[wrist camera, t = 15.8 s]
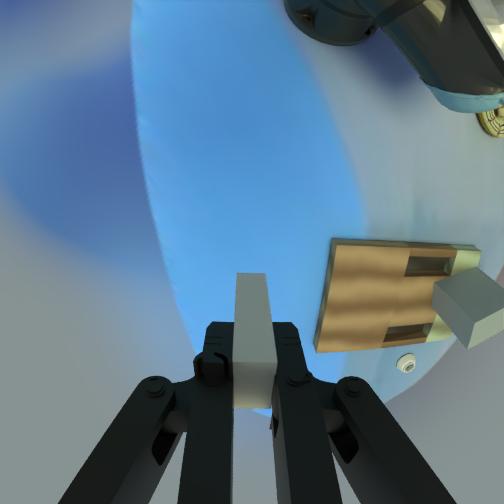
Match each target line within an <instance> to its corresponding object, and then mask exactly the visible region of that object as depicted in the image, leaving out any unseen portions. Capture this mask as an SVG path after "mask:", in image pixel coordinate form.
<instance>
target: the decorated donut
mask: <svg viewBox="0 0 504 504" xmlns="http://www.w3.org/2000/svg"><path fill="white" fill-rule="evenodd" d="M477 114H478V117H479V121H480V123H481V125H482V126H483V128H484V129H485V130H486V131H487V132H488V133H489V134H490V135H492V136H494V137H497V138H502V137H504V105H499V107H498V108H497V109H494V110H491V111H486V112H480V113H477Z"/></svg>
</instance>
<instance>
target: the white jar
mask: <svg viewBox="0 0 504 504" xmlns="http://www.w3.org/2000/svg"><path fill="white" fill-rule="evenodd" d="M414 367H415V356H414V355H413V354H407V355H405V356H403V357H402V358H400V359H399V361H398V362H397V368H398V369H399V370H401V371H403V372H405V373H408V372H410V371H412V370H413V369H414Z"/></svg>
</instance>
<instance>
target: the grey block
mask: <svg viewBox="0 0 504 504" xmlns="http://www.w3.org/2000/svg"><path fill="white" fill-rule="evenodd" d="M431 307H432V309H433V310H434V311H435V312H436V313H437V314H438V315H439V317H440V318H441V319H442V320H443V321H444V322H445V323H446V325H447V326H448V327H449V328H450V329H451V331H452V332H453V333H454V334H455V335H456V337H457V338H458V339H459V340H460V341H461V343H462V344H463V345H464V346H465V348H466V349H469V348H471V347H473V346H475V345H477V344H479V343H481V342H483V341H485V340H486V339H488V338H490V337H492V336H493V335H495V334H497V333H499V332H500V331H502V330H503V329H504V288H502V287H501V286H500V285H499V284H498V283H496V282H495V281H494V280H493V279H491V278H490V277H489V276H488V275H486V274H485V273H484V272H482V271H481V270H480V269H478V268H477V267H473V268H471V269H468V270H465V271H463V272H460V273H457V274H455V275H452V276H449V277H447V278H444V279H441V280H438V281H435V282H434V286H433V296H432V305H431Z"/></svg>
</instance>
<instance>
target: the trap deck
mask: <svg viewBox="0 0 504 504" xmlns="http://www.w3.org/2000/svg"><path fill="white" fill-rule="evenodd" d="M481 253H482V251H481V250H479V249H478V248H476V247H475V246H468V245H452V244H435V243H418V242H399V241H379V240H357V239H334V238H332V240H331V247H330V254H329V260H328V267H327V273H326V279H325V285H324V291H323V296H322V302H321V307H320V312H319V317H318V323H317V328H316V332H315V337H314V342H313V344H314V347H315V351H316V353H328V352H344V351H357V350H368V349H378V348H387V347H396V346H403V345H411V344H418V343H424V342H431V341H437V340H443V339H448V338H450V337H451V334H452V331H451V329H450V328H449V327H448V326H447V325H446V323H445V322H444V321H443V320H442V319H441V318H440V317H439V315H438V314H437V313H436V312H435V311H434V310H433V309H432V307H431V305H432V296H433V286H434V282H435V281H438V280H441V279H444V278H447V277H449V276H452V275H455V274H457V273H460V272H463V271H465V270H468V269H471V268H473V267H477V266H478V263H479V260H480V256H481Z"/></svg>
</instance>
